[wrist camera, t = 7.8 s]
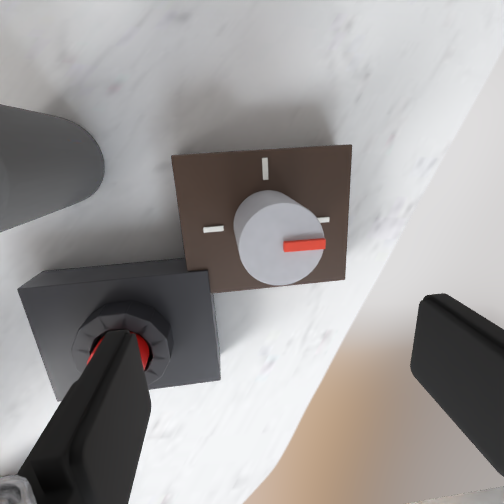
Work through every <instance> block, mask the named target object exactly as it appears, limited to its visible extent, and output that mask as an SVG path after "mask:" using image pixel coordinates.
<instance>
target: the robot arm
mask: <svg viewBox="0 0 504 504" xmlns="http://www.w3.org/2000/svg"><path fill="white" fill-rule="evenodd" d="M410 365H411V366H410V367H411V371H412V373H413V375H414V377H415V378H416V379H417V380H418V381H419V383H420V384H421V385H422V386H423V387H424V388H425V389H426V391H427V392H428V393H429V394H430V395H431V396H432V397H433V398H434V399H435V401H436V402H437V403H438V404H439V405H440V406H441V408H442V409H443V410H444V411H445V412H446V413H447V414H448V415H449V417H450V418H451V419H452V420H453V421H454V422H455V423H456V425H457V426H458V427H459V428H460V429H461V430H462V432H463V433H464V434H465V435H466V436H467V437H468V438H469V440H471V442H472V443H473V444H474V445H475V446H476V448H477V449H478V450H479V451H480V452H481V453H482V454H483V456H484V457H485V458H486V459H487V460H488V461H489V462H490V463H491V465H492V466H493V467H494V468H495V469H496V470H497V471H498V472H499V473H500V474H501V475H502V476H504V330H503V329H502V328H500V327H499V326H497V325H495V324H494V323H492V322H491V321H489V320H487V319H486V318H484V317H483V316H481V315H479V314H478V313H476V312H475V311H473V310H471V309H470V308H468V307H467V306H465V305H463V304H462V303H460V302H459V301H457V300H455V299H454V298H452V297H451V296H449V295H447V294H433V295H427V296H425V297H424V299H423V300H422V301H421V302H420V304H419V310H418V316H417V323H416V330H415V337H414V344H413V350H412V357H411V364H410ZM150 413H151V399H150V395H149V390H148V386H147V381H146V377H145V372H144V368H143V364H142V359H141V355H140V350H139V346H138V341H137V337H136V335H135V334H134V333H132V334H130V332H129V330H127V329H126V330H117V331H109V332H107V333H106V334H105V336H104V338H103V339H102V341H101V343H100V344H99V346H98V348H97V349H96V351H95V353H94V354H93V356H92V358H91V359H90V361H89V363H88V364H87V366H86V368H85V369H84V371H83V373H82V374H81V376H80V378H79V379H78V380H77V381H75V382H74V383H73V384H72V386H71V387H70V389H69V390H68V392H67V393H66V395H65V397H64V398H63V400H62V402H61V403H60V405H59V407H58V408H57V410H56V411H55V413H54V415H53V416H52V418H51V420H50V421H49V423H48V424H47V426H46V428H45V429H44V431H43V433H42V434H41V436H40V437H39V439H38V441H37V442H36V444H35V446H34V447H33V449H32V451H31V452H30V454H29V455H28V457H27V459H26V460H25V462H24V464H23V465H22V467H21V468H20V470H19V472H18V473H17V475H11V476H4V477H1V478H0V504H128V501H129V497H130V493H131V489H132V485H133V481H134V477H135V473H136V469H137V465H138V461H139V457H140V453H141V449H142V445H143V441H144V437H145V433H146V429H147V425H148V421H149V417H150ZM407 504H504V486H503V487H498V488H492V489H486V490H480V491H474V492H469V493H463V494H457V495H451V496H446V497H440V498H435V499H429V500H423V501H418V502H413V503H407Z"/></svg>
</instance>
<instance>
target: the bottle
mask: <svg viewBox="0 0 504 504" xmlns="http://www.w3.org/2000/svg"><path fill="white" fill-rule="evenodd" d="M103 175H104V161H103V156H102V153H101V151H100V148H99V146H98V145H97V143H96V141H95V140H94V139H93V138H92V136H91V135H90V134H89V133H88V132H87V131H85V130H84V129H83V128H82V127H80V126H79V125H77V124H75V123H74V122H71V121H69V120H66V119H63V118H59V117H56V116H52V115H48V114H43V113H38V112H34V111H29V110H24V109H20V108H15V107H11V106H6V105H1V104H0V232H2V231H5V230H8V229H10V228H13V227H16V226H18V225H21V224H24V223H26V222H29V221H32V220H34V219H37V218H40V217H42V216H45V215H47V214H50V213H53V212H55V211H58V210H60V209H63V208H66V207H68V206H71V205H73V204H76V203H78V202H81V201H83V200H85V199H87V198H88V197H90V196H91V195H92V194H94V193H95V191H96V190H97V189H98V188H99V186H100V184H101V182H102V180H103Z"/></svg>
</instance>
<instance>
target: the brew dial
mask: <svg viewBox="0 0 504 504" xmlns="http://www.w3.org/2000/svg"><path fill="white" fill-rule="evenodd" d="M234 233H235V237H236V242H237V246H238V251H239V255H240V259H241V261H242V264H243V266H244V267H245V269H246V270H247V271H248V273H249V274H250V275H252V276H253V277H254V278H255V279H257V280H259V281H261V282H263V283H266V284H270V285H288V284H292V283H295V282H297V281H299V280H301V279H303V278H304V277H306V276H307V275H308V274H309V273H310V272H312V270H313V269H314V268H315V267H316V265H317V264H318V262H319V260H320V259H321V256H322V253H323V249H325V246H326V239H324V232H323V229H322V226H321V224H320V222H319V220H318V219H317V217H316V216H315V215H314V214H313V213H312V212H311V211H310V210H308V209H307V208H305V207H304V206H302V205H301V204H299V203H297V202H296V201H294V200H293V199H291V198H290V197H288V196H286V195H285V194H283V193H281V192H278V191H272V190H265V191H260V192H256V193H254V194H252V195H250V196H249V197H247V198H246V199H245V200H244V201H243V202H242V203H241V204H240V206H239V207H238V209H237V211H236V214H235V217H234Z"/></svg>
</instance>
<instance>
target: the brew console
mask: <svg viewBox="0 0 504 504" xmlns="http://www.w3.org/2000/svg"><path fill="white" fill-rule="evenodd" d="M351 157H352V145H330V146H314V147H297V148H281V149H264V150H248V151H231V152H215V153H199V154H182V155H172V156H171V159H172V166H173V173H174V180H175V188H176V195H177V202H178V209H179V216H180V223H181V230H182V237H183V244H184V251H185V259H186V266H187V271H197V270H208V274H209V283H210V291H211V294H212V293H221V292H231V291H241V290H250V289H260V288H270V287H279V286H289V285H299V284H308V283H318V282H327V281H337V280H345V270H346V251H347V232H348V213H349V194H350V175H351ZM265 190H272V191H278V192H281V193H283V194H285V195H286V196H288V197H290V198H291V199H293V200H294V201H296V202H297V203H299V204H301V205H302V206H304V207H305V208H307V209H308V210H310V211H311V212H312V213H313V214H314V215H315V216H316V217H317V219H318V220H319V222H320V224H321V226H322V229H323V232H324V239H326V246H325V249H323V253H322V256H321V259H320V260H319V262H318V264H317V265H316V267H315V268H314V269H313V270H312V272H310V273H309V274H308V275H307V276H306V277H304V278H303V279H301V280H299V281H297V282H295V283H292V284H288V285H270V284H266V283H263V282H261V281H259V280H257V279H255V278H254V277H253V276H252V275H250V274H249V273H248V271H247V270H246V269H245V267H244V266H243V264H242V261H241V259H240V255H239V251H238V246H237V242H236V237H235V233H234V217H235V214H236V211H237V209H238V207H239V206H240V204H241V203H242V202H243V201H244V200H245V199H246V198H247V197H249V196H250V195H252V194H254V193H256V192H260V191H265Z"/></svg>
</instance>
